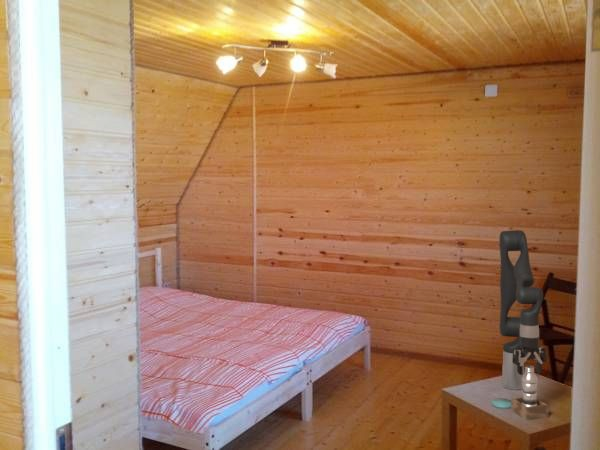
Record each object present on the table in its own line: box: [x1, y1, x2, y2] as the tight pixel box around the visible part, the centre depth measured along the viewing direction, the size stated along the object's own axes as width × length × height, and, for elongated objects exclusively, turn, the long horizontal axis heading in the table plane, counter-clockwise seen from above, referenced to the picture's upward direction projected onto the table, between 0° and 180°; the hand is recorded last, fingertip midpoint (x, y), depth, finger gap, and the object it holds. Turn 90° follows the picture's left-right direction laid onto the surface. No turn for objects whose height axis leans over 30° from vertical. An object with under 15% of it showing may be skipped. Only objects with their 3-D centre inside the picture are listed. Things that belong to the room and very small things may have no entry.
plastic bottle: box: [522, 365, 539, 407], centre depth 250 cm, size 6×7×20 cm
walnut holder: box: [510, 396, 549, 421], centre depth 251 cm, size 11×10×5 cm
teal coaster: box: [491, 397, 511, 410], centre depth 261 cm, size 9×9×1 cm
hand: (529, 373), depth 250 cm, fingers open, 8 cm apart
